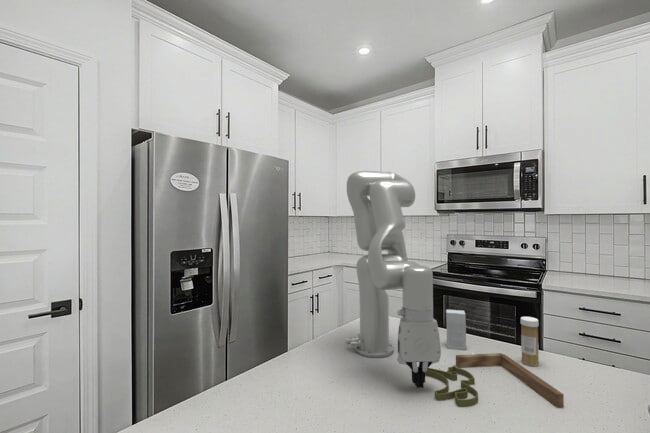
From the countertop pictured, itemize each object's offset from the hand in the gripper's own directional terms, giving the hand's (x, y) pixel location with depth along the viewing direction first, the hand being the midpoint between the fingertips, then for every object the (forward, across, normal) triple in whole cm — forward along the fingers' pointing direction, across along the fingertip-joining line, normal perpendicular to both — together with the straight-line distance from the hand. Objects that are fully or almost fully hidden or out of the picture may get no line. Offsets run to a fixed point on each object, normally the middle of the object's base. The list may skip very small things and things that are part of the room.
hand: (418, 385), depth 84 cm
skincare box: (+1, +22, +25) cm, 33 cm away
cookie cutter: (+2, +9, 0) cm, 9 cm away
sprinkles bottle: (+1, +38, +11) cm, 40 cm away
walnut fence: (+1, +22, 0) cm, 22 cm away
